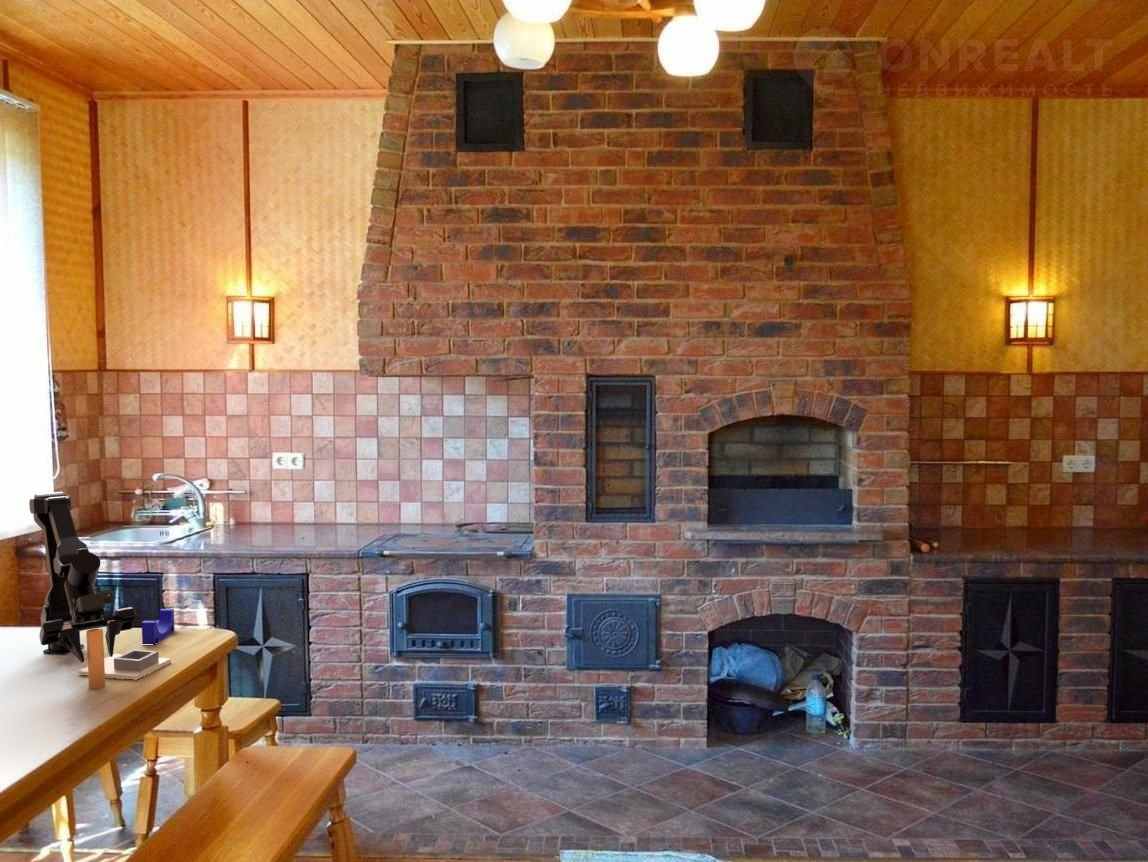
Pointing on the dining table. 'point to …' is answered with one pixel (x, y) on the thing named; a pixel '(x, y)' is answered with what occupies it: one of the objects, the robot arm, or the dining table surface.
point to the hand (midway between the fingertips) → (97, 658)
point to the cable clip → (158, 627)
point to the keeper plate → (131, 664)
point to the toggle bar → (95, 658)
